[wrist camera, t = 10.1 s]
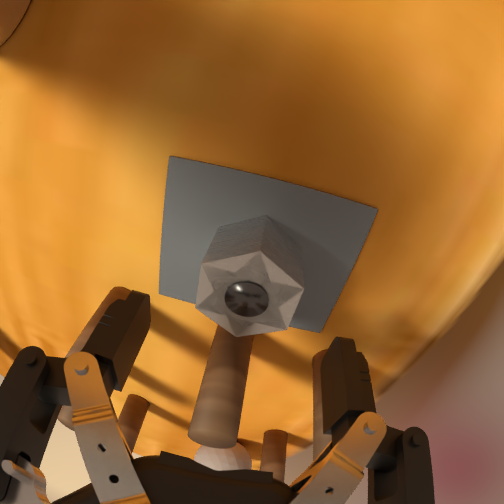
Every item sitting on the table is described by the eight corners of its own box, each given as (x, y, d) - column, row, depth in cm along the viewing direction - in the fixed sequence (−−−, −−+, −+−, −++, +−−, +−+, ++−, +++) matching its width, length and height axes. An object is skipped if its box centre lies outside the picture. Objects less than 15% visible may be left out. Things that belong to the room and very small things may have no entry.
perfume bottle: (257, 436, 32) (246, 521, 22) (250, 458, 37) (240, 526, 27) (198, 426, 32) (177, 509, 22) (201, 450, 37) (186, 517, 27)
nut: (222, 204, 17) (204, 238, 13) (309, 225, 17) (314, 265, 13) (208, 283, 20) (192, 327, 16) (281, 301, 20) (279, 347, 16)
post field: (78, 272, 21) (14, 350, 13) (357, 343, 21) (372, 448, 14) (108, 393, 31) (83, 450, 24) (283, 439, 32) (278, 502, 24)
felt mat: (170, 155, 16) (169, 156, 15) (377, 208, 16) (378, 209, 16) (159, 292, 21) (158, 293, 21) (320, 331, 21) (320, 333, 21)
